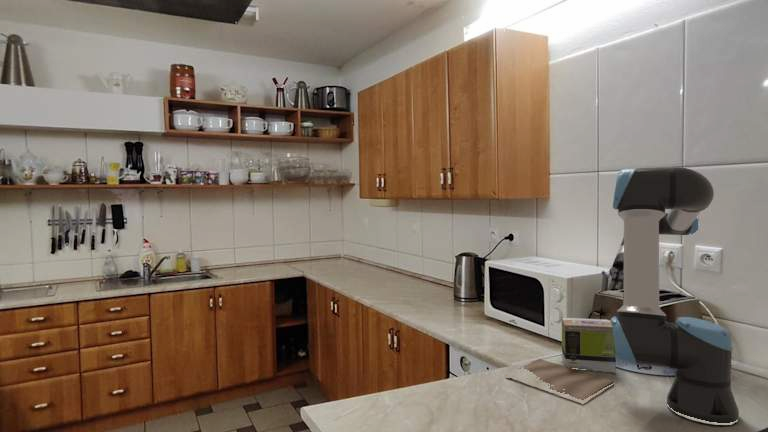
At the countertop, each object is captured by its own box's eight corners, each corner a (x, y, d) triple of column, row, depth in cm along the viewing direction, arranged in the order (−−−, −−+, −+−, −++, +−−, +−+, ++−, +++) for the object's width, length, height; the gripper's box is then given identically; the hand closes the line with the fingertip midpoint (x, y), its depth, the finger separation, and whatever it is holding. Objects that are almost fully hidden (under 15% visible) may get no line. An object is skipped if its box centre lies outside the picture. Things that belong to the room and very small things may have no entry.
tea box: (609, 362, 152) (610, 318, 151) (616, 374, 143) (616, 327, 142) (561, 358, 156) (561, 315, 155) (564, 369, 147) (564, 324, 146)
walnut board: (613, 384, 135) (614, 380, 135) (582, 404, 122) (583, 400, 122) (539, 362, 153) (539, 358, 153) (506, 377, 141) (506, 373, 141)
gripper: (648, 268, 165) (628, 323, 155) (611, 264, 174) (590, 316, 165) (643, 255, 161) (622, 311, 151) (605, 251, 171) (583, 304, 161)
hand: (605, 313), depth 158 cm, fingers closed
